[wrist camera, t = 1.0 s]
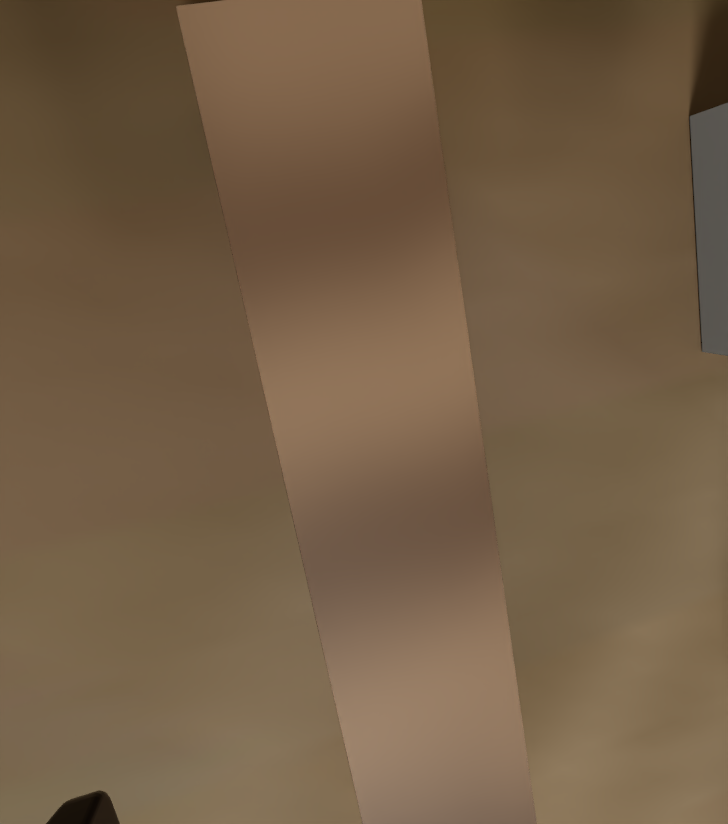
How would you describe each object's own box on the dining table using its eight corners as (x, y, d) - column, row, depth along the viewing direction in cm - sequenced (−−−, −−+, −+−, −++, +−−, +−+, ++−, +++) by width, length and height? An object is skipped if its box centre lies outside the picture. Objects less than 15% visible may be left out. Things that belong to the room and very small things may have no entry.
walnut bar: (465, 740, 18) (548, 907, 13) (352, 778, 18) (395, 964, 13) (354, 83, 14) (418, -23, 9) (198, 106, 13) (175, 6, 8)
